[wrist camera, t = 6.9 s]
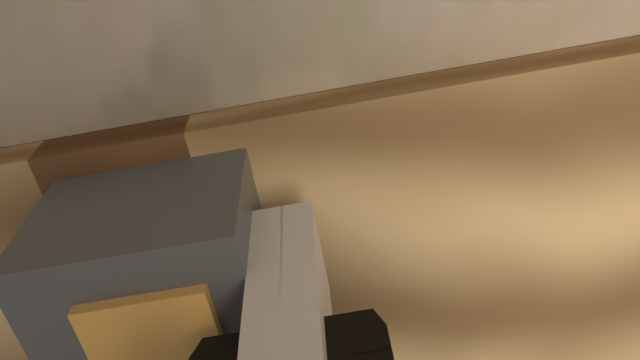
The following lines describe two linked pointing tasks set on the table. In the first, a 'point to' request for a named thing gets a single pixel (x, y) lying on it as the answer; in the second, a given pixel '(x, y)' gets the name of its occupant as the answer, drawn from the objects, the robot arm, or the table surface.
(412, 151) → the panel
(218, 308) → the grey block
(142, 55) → the table surface
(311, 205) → the robot arm
